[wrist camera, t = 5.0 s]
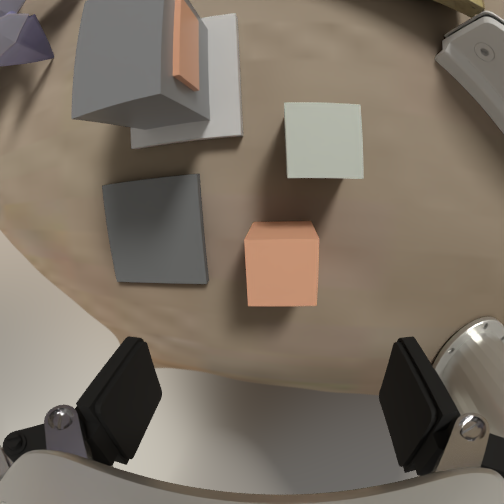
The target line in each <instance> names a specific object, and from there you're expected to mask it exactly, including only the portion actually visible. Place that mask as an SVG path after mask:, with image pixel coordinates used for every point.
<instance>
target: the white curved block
mask: <svg viewBox="0 0 504 504" xmlns="http://www.w3.org/2000/svg"><path fill="white" fill-rule="evenodd" d="M444 36H445V37H446V38H445V39H444V40H442V45H443V50H442V51H441V52H440V53H439V54H437V55H436V56H435V60H436V61H437V62H438V63H439V64H440V65H441V66H442V67H443V68H444V69H446V70H447V71H448V72H449V73H450V74H451V75H452V76H453V77H454V78H455V79H456V80H457V81H458V82H459V83H460V84H461V85H462V86H463V87H464V88H465V89H466V90H467V91H468V92H469V93H470V94H471V96H472V97H473V98H474V99H475V100H476V101H477V102H478V103H479V104H480V106H481V107H482V108H483V109H484V110H485V111H486V113H487V114H488V115H489V116H490V117H491V119H492V120H493V121H494V122H495V124H496V125H497V126H498V128H499V129H500V130H501V131H502V133H503V134H504V20H503V19H502V18H500V17H499V16H497V15H496V14H494V13H492V12H490V11H483V12H481V13H479V14H478V15H476V16H474V17H472V18H471V19H469V20H467V21H466V22H464V23H462V24H461V25H459V26H457V27H456V28H454V29H452V30H451V31H449V32H447V33H446V34H445V35H444Z"/></svg>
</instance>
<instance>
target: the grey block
mask: <svg viewBox="0 0 504 504" xmlns="http://www.w3.org/2000/svg"><path fill="white" fill-rule="evenodd" d="M284 126H285V147H286V173H287V178H353V179H363V140H362V121H361V107H360V105H357V104H342V103H314V102H287V103H284Z"/></svg>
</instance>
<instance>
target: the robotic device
mask: <svg viewBox="0 0 504 504" xmlns="http://www.w3.org/2000/svg"><path fill="white" fill-rule="evenodd" d="M25 1H26V0H0V66H9V65H18V64H26V63H32V62H38V61H42V60H47V59H52V58H54V55H53V52H52V49H51V47H50V44H49V42H48V40H47V38H46V35H45V33H44V31H43V29H42V27H41V25H40V23H39V21H38V19H37V17H36V15H35V14H34V15H32V16H29V14H17V13H18V11H19V10H20V8H21V7H22V5H23V4H24V3H25Z"/></svg>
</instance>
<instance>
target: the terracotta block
mask: <svg viewBox="0 0 504 504" xmlns="http://www.w3.org/2000/svg"><path fill="white" fill-rule="evenodd" d="M244 244H245V262H246V279H247V296H248V306H317V290H318V264H319V237H318V235H317V233H316V231H315V229H314V227H313V224H312V222H311V221H278V222H253V224H252V226H251V228H250V230H249V232H248V233H247V235H246V237H245V239H244Z"/></svg>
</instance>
